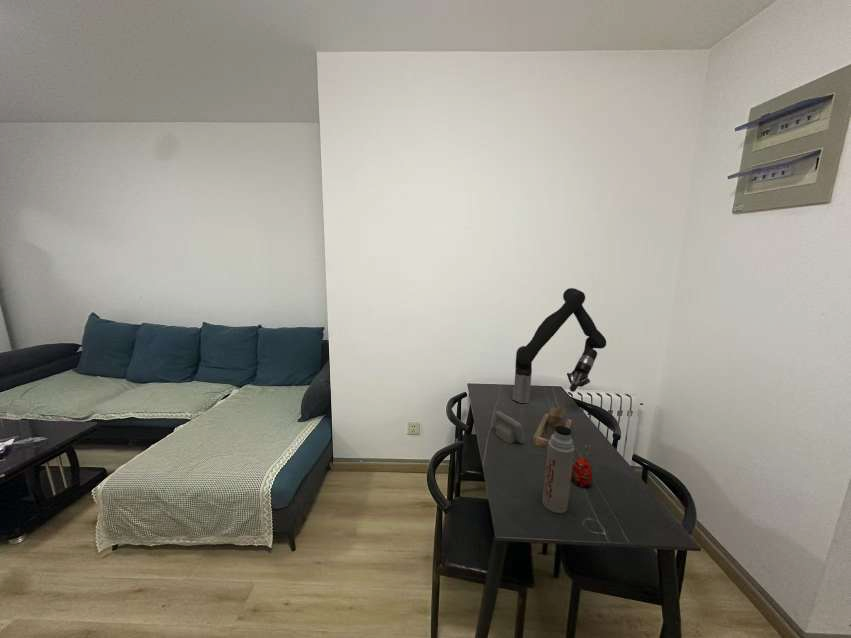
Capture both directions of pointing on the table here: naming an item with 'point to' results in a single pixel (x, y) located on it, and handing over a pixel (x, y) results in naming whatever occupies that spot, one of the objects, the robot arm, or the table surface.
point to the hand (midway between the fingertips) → (571, 390)
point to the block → (555, 419)
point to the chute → (537, 437)
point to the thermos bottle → (558, 470)
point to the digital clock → (508, 429)
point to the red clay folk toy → (582, 471)
